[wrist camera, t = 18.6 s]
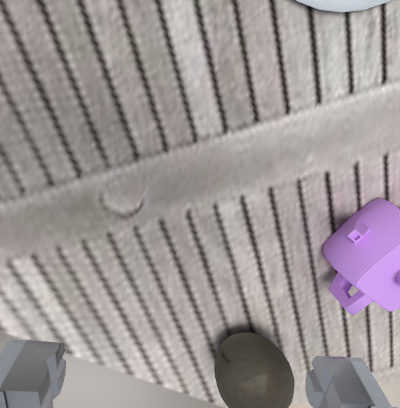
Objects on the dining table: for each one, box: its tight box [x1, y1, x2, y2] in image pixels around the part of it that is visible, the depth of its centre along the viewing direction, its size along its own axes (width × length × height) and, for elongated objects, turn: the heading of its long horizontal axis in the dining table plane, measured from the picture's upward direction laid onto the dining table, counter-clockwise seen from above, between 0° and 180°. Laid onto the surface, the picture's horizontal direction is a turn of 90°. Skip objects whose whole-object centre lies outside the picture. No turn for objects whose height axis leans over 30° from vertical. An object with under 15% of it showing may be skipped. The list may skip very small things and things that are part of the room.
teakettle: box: [323, 199, 400, 315], centre depth 50 cm, size 17×17×12 cm
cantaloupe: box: [214, 332, 294, 408], centre depth 57 cm, size 14×14×15 cm
